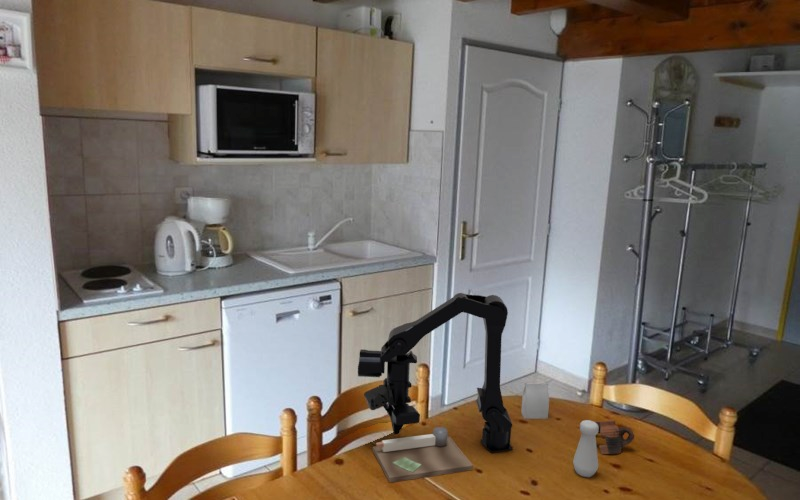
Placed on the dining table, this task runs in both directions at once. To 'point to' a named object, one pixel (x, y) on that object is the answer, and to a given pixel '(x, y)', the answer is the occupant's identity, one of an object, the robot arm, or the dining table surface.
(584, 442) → the salt shaker
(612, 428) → the pottery mug
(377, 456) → the board
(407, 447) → the lever
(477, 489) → the dining table surface
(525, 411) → the grey block
